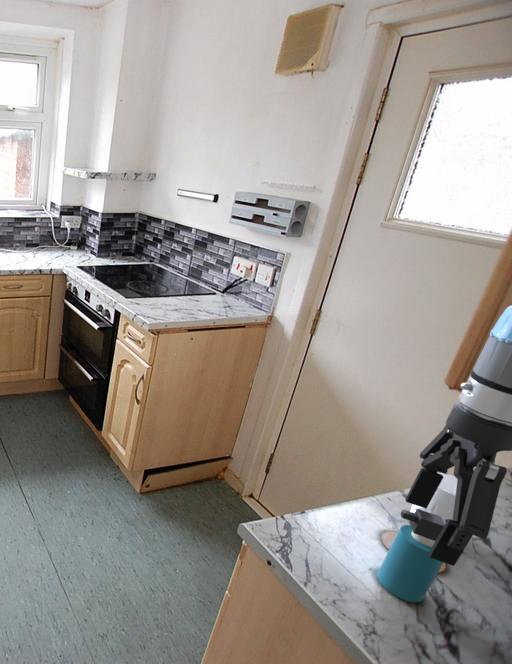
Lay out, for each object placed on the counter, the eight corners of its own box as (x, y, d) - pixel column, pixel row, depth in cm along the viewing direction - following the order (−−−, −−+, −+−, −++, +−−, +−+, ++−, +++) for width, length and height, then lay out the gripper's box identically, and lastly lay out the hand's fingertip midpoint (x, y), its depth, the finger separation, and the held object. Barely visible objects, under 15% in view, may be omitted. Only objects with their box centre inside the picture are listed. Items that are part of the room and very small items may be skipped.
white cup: (406, 504, 95) (426, 465, 92) (457, 527, 90) (480, 486, 87) (402, 523, 90) (422, 481, 86) (455, 548, 85) (480, 505, 81)
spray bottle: (417, 581, 77) (453, 515, 72) (427, 609, 72) (467, 540, 67) (368, 562, 80) (400, 497, 75) (374, 588, 75) (409, 520, 70)
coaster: (436, 546, 85) (436, 545, 85) (452, 581, 77) (453, 581, 77) (377, 525, 89) (377, 524, 89) (387, 557, 81) (387, 556, 81)
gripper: (431, 373, 76) (381, 476, 83) (492, 446, 55) (418, 575, 63) (491, 387, 73) (433, 493, 80) (580, 471, 52) (491, 603, 60)
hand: (427, 530), depth 71 cm, fingers open, 13 cm apart
